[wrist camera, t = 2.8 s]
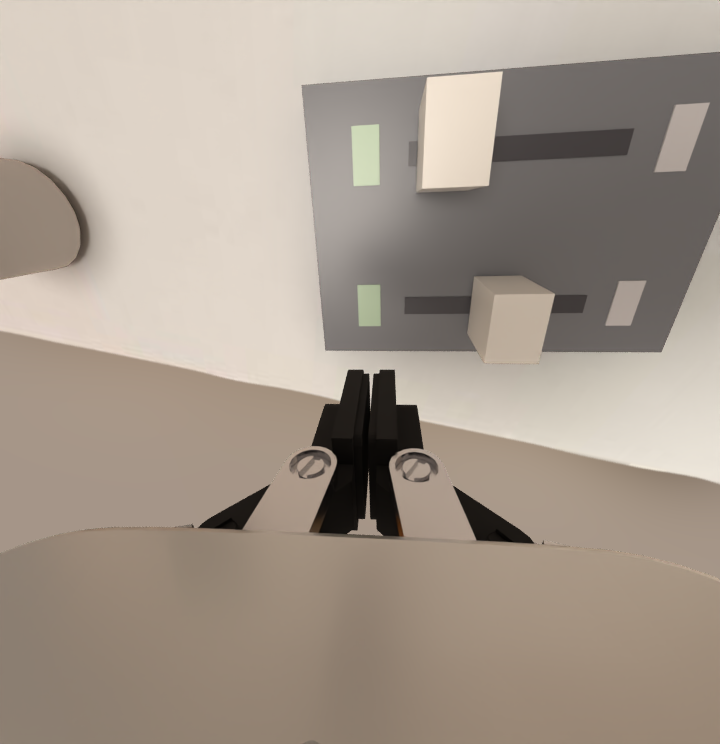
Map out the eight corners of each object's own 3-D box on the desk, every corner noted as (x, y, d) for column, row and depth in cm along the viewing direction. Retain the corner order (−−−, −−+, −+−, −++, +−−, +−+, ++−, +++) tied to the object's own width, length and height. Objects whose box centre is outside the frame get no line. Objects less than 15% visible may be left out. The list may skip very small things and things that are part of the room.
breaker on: (475, 105, 18) (502, 71, 13) (467, 190, 19) (488, 185, 15) (419, 109, 18) (427, 77, 13) (415, 192, 20) (422, 188, 15)
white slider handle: (521, 275, 21) (554, 293, 17) (510, 333, 23) (538, 364, 19) (474, 276, 21) (494, 294, 17) (467, 333, 23) (484, 363, 19)
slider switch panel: (739, 66, 18) (791, 45, 16) (637, 339, 25) (662, 352, 23) (311, 98, 20) (301, 84, 18) (331, 338, 27) (325, 350, 25)
